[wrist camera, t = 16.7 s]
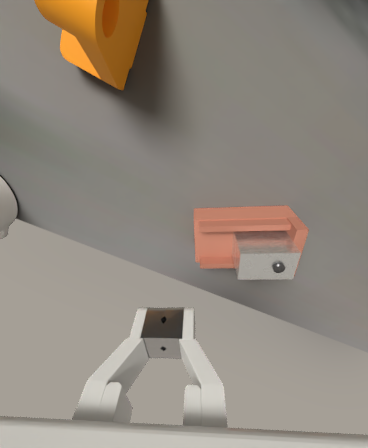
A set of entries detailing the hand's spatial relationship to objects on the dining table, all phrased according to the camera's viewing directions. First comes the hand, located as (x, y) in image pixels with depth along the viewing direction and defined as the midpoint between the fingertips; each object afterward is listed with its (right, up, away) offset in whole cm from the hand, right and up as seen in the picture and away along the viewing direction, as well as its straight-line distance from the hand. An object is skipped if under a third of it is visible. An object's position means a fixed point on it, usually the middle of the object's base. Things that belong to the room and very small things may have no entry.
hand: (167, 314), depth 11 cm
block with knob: (+13, +2, +23) cm, 26 cm away
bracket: (-8, +28, +13) cm, 32 cm away
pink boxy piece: (+11, +4, +26) cm, 29 cm away
